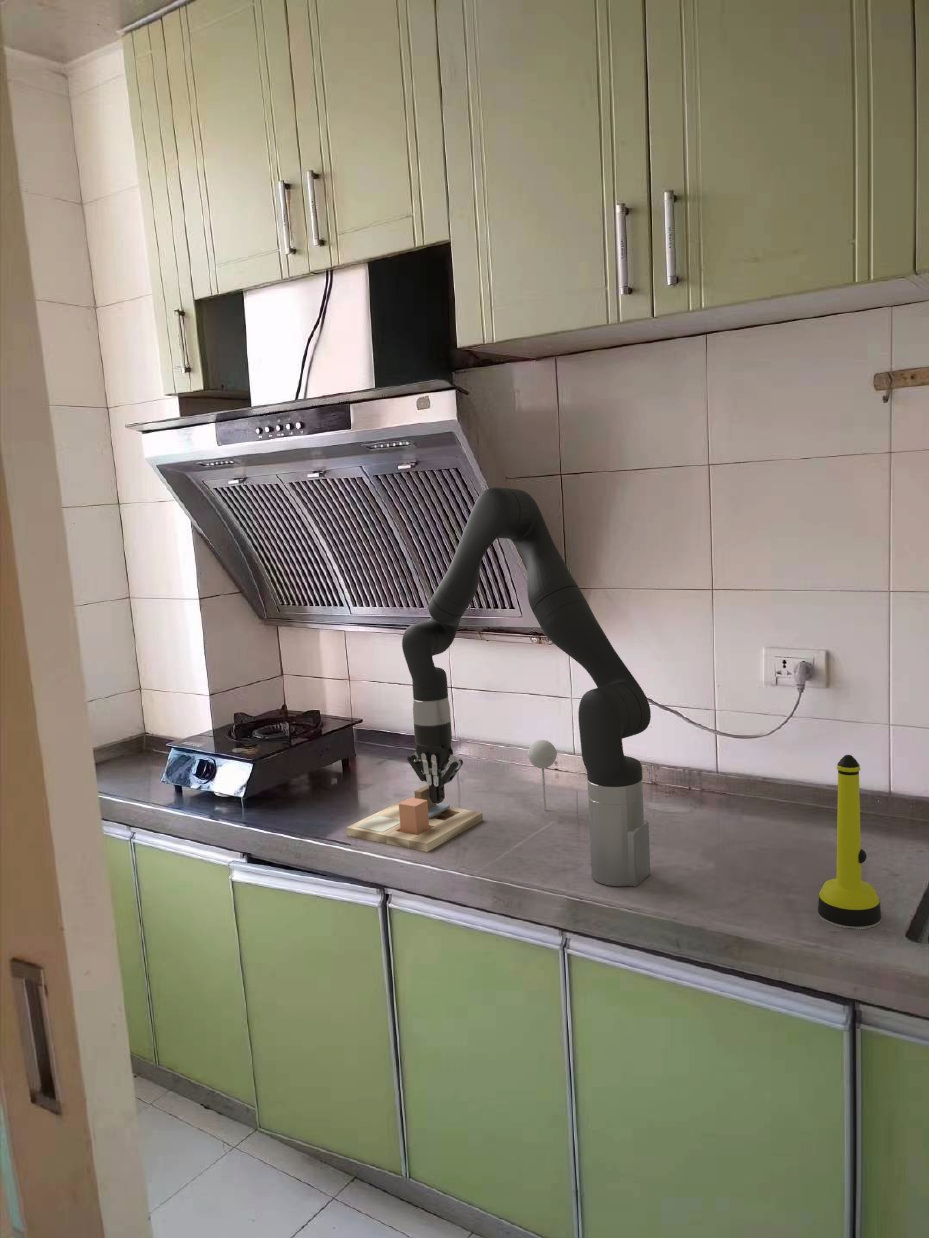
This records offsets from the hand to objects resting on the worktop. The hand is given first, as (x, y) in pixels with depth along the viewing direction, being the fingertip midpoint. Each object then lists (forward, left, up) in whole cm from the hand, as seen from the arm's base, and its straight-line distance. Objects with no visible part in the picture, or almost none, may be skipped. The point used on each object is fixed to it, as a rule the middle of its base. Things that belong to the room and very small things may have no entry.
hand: (437, 802), depth 192 cm
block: (-1, +9, -4) cm, 10 cm away
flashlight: (-81, +6, -5) cm, 81 cm away
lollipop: (-16, -16, -5) cm, 23 cm away
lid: (+3, 0, -2) cm, 4 cm away
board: (+2, +5, -4) cm, 7 cm away
